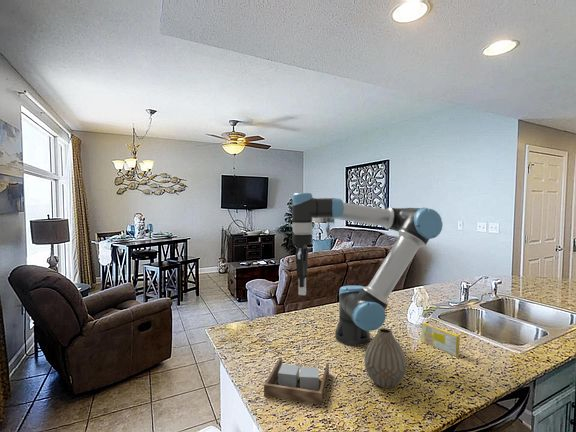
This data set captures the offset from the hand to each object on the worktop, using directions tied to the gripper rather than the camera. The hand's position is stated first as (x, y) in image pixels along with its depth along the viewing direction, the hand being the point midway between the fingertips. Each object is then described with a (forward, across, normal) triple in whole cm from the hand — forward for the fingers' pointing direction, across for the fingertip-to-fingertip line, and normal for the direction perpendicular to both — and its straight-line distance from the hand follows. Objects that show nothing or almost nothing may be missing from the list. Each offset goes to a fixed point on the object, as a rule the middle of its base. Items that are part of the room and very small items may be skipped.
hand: (302, 294), depth 119 cm
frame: (+24, +18, +2) cm, 30 cm away
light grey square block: (+25, +17, +6) cm, 30 cm away
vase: (+25, +10, +30) cm, 40 cm away
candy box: (+25, -21, +53) cm, 62 cm away
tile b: (+25, +17, -1) cm, 30 cm away
